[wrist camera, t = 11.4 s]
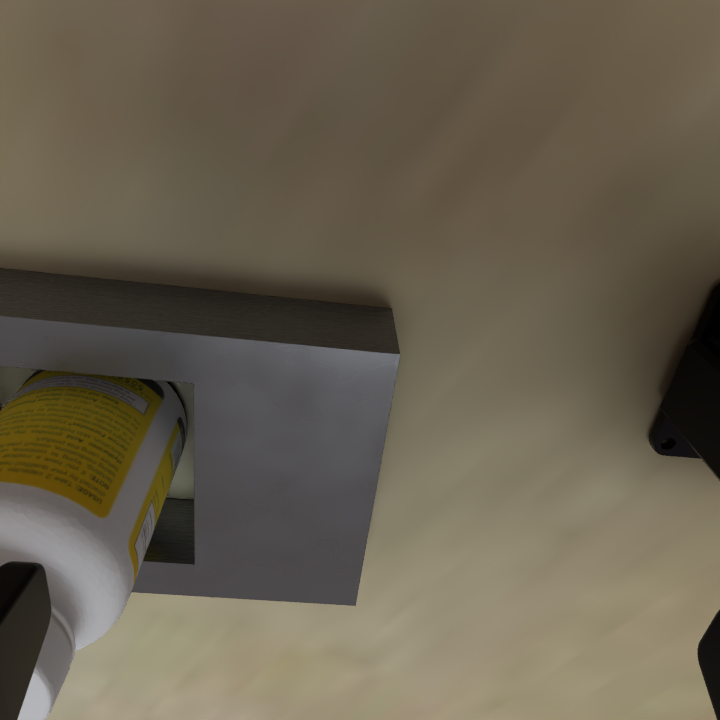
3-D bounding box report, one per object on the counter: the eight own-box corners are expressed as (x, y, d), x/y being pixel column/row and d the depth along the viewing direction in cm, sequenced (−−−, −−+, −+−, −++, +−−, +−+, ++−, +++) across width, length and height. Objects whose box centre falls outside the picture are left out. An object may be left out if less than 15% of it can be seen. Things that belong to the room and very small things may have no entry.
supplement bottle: (-8, 373, 20) (-270, 641, 11) (142, 323, 19) (-16, 570, 11) (80, 493, 22) (-79, 787, 14) (216, 454, 22) (136, 737, 13)
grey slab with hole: (392, 308, 19) (400, 354, 17) (353, 541, 24) (355, 605, 21) (-227, 245, 18) (-326, 284, 15) (-136, 507, 22) (-199, 572, 20)
